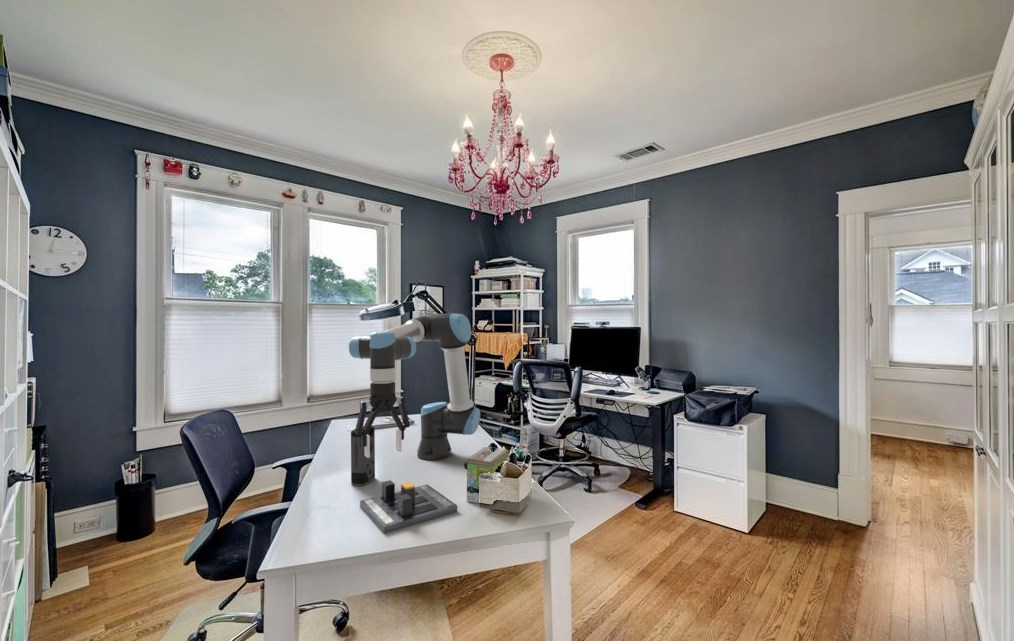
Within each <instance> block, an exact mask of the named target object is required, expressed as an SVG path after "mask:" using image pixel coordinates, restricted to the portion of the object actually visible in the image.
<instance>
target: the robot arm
mask: <svg viewBox="0 0 1014 641" xmlns="http://www.w3.org/2000/svg"><path fill="white" fill-rule="evenodd" d="M471 335H472V326H471V323H470V320H469V318H468V317H467V316H466V315H465V314H463V313H429V314H423V315H420V316H418V317H415V318H411V319H409V320H407V321H406V322H405V323H404V324H401V325H398V326H395V327H391V328H388V329H386V330H383V331H376V332H372V333H371V334H370V335H366V336H363V335H360V336H354V337H352V338H351V339H350V341H349V344H348V353H349V355H350V356H351V357H352V358H353V359H360V360H365V359H369V360H370V363H369V364H370V366H369V369H370V370H369V376H370V379H369V380H370V385H369V386H370V388H369V395H370V396H369V399H368V400H365V401H364V400H360V402H359V407H360V408H359V413H358V417H357V420H356V424H355V428H354V429H355V433H356V434H357V435H361V444H362V446H363V447H365V456H366V457H367V458H369V457H370V436H369V435H368V432H369V430H370V428H371V426H373V424H374V421H375V419H376V418H377V417H378V415H379V413H383V412H389V414H390V416H391V417H392V419H393V421H394V423H395V424H396V426H397V429H395V450H396V451H397V452H398V453H400V452H402V451H403V450H402V447H403V446H402V441H403V440H405V430H406V429H407V428H409V427H410V426H411V424H410V420H409V416H408V412H407V409H406V408H407V407H406V398H405V396H399V397H397V396H396V382H395V380H396V361H399V360H400V361H401V360H407V359H410V358H412V357H413V356H414V355H415V353H416V351H417V344H416V343H418V342H438V344H439V345H438V346H439V349H441V350H442V351H443V356H444V364H445V372H446V373H445V374H446V378H447V388H448V394H449V403H448V402H447V401H438V402H432V403H427V404H424V405H423V406H422V407H421V409H420V424H421V425H420V436H421V437H420V441H419V445H418V447H417V452H416V454H417V458H419V459H421V460H425V461H437V460H444V459H447V458H448V457H450V456H452V446H451V444H450V441H449V438H448V434H453V435H454V434H455V435H464V436H465V435H467V436H469V435H474V434H475V433H476V431H477V429H478V428H479V424H480V421H481V411H480V408H477V407H475V404H474V403H475V402H474V401H473V400H471V398H470V392H469V391H470V390H469V389H470V388H469V380H468V372H467V362H466V353H465V352H466V351H465V348H466V346H467V345H468V342H469V341H470V339H471V338H472V336H471ZM396 403H397V405H398V409H399V412H400V416H401V418H400V417H399V415H398V413H397V411H396V409H395V406H394V405H395V404H396ZM369 406H371V410H369V412H370V413H369V415H368V417H367V419H366V421H365V418H366V415H367V409H368V408H369ZM363 426H364V427H363ZM362 428H363V429H362Z"/></svg>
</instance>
